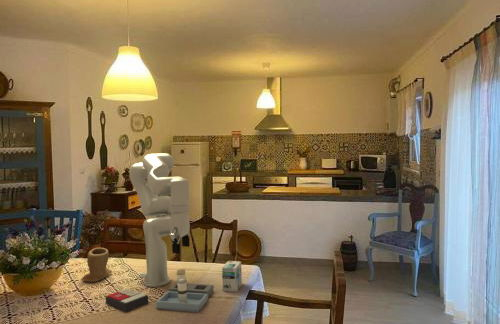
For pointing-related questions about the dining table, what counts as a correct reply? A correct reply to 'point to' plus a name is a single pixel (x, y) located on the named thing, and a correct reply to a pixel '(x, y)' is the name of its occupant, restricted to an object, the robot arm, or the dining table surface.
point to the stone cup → (97, 264)
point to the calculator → (127, 299)
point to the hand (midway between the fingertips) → (181, 249)
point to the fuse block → (194, 288)
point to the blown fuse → (182, 290)
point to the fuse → (180, 274)
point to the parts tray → (171, 303)
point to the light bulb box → (232, 276)
